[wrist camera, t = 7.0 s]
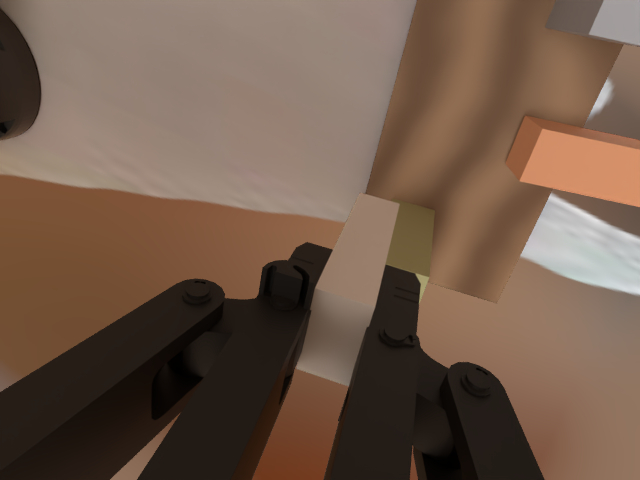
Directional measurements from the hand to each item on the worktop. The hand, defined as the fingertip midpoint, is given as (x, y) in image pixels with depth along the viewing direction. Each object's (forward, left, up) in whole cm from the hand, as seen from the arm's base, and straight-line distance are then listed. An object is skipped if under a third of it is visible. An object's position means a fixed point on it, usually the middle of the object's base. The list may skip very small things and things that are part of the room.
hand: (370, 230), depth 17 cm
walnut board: (+5, 0, -25) cm, 26 cm away
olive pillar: (+2, -10, -24) cm, 26 cm away
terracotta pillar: (+9, 0, -21) cm, 23 cm away
